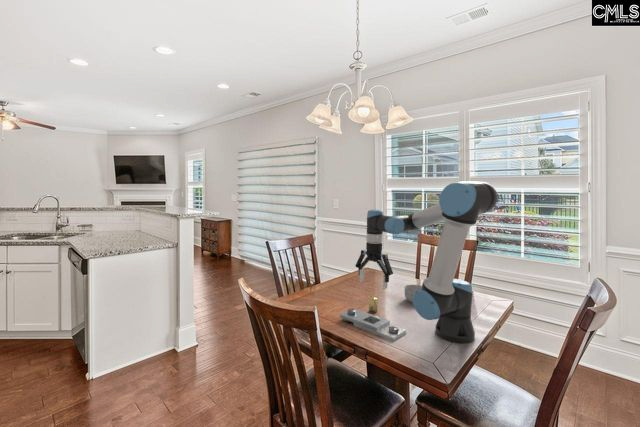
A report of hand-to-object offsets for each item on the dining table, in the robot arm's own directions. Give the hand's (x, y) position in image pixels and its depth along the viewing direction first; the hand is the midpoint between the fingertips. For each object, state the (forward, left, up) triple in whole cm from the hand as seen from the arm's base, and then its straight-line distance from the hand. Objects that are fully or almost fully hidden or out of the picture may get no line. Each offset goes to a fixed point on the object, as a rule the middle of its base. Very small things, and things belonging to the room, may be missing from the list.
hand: (373, 285), depth 158 cm
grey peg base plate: (-9, +14, -13) cm, 21 cm away
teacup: (-9, -28, -14) cm, 32 cm away
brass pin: (0, 0, -13) cm, 13 cm away
